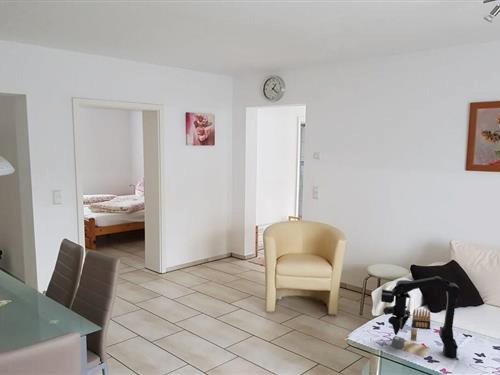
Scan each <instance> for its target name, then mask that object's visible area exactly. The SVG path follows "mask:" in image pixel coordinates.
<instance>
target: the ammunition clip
mask: <svg viewBox="0 0 500 375" xmlns="http://www.w3.org/2000/svg"><path fill="white" fill-rule="evenodd" d="M430 310H431V309H429V310H427V309H423V310H422V309H421V308H420V309H417V310H416V308H414V309H413V314H412V320H411V329H418V328H419V329H418V330H420V329H421V330H431V311H430Z"/></svg>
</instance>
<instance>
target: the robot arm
mask: <svg viewBox="0 0 500 375" xmlns="http://www.w3.org/2000/svg"><path fill="white" fill-rule="evenodd" d="M434 286H438V287H439V288H441V289H442V290H443V291H445V292H446V299H447V300H446V308H445V316H444V323H443V325H442V326H439V332H438V334H439V337H440V339H441V342H442V343H443V347H442V354H443V356H444V357H447V358H449V359H455V361H459V358H458V357H457V356H458V355H457V354H458V352H457V351H458V349H459V346H458V344H457V342H456V339H455V338H454V332H453V328H454V319H455V312H456V310H455V309H456V304H457V301H458V299H459V297H460V294H461V291H460V288H459V286H458V285H457V284H456V283H455V282H450V281H448V280H446V279H444V278H442V277H440V276H438V275H436V276H433V277H432V276H431V277H427V278H421V279H415V280H409V279H406V280H404V279H402V280H401V279H400V280H397V282H396V284H395V286H394V287H393V288H392V290H391V289H390V290H388V289H385V288H382V289H381V294H380V296H381V298H380V302H381V303H388V304H393V303H394V305H393V306H385V307H384V308H383V310H382V312H383V314H384V315H386V316H387V315H391V316H389V318H388V322H387V323H389V324H390V325H392V328H393V332H394V335H395V336H398V333H399V332H400V330H403V329H404V328H405V326H406V323H407V321H408V320H409V318H410V316H411V312H410V310H408V309H407V308H408V306H407V299H411V295H410V292H411V291H414V290H416V289H423V288H428V287H434Z"/></svg>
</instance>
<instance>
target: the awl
mask: <svg viewBox="0 0 500 375" xmlns="http://www.w3.org/2000/svg"><path fill="white" fill-rule="evenodd" d="M410 330H411V331H410V340H411V342H416V341H417V335H418V329H417V328H411V329H410Z"/></svg>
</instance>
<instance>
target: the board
mask: <svg viewBox="0 0 500 375" xmlns="http://www.w3.org/2000/svg"><path fill="white" fill-rule="evenodd" d="M388 347H389V348H392V349H396V350H399V351H401V352H402V351H403V352H406V353H408V354H411V355H415V356H417V357H421V358H424V357H425V355H426V354H427V352H429V350H430V349H431V347H429V346H426V345H423V344H420V343H416V342H414V341H410V340H405V339H404V347H403V348H402V349H401V350H400V349H397V348H394V347H392V343H391V344H390V345H388Z"/></svg>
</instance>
